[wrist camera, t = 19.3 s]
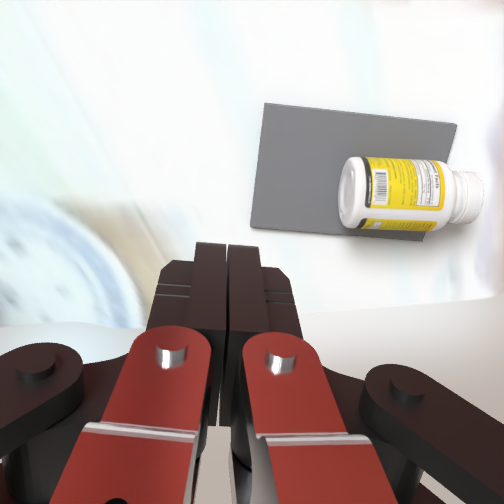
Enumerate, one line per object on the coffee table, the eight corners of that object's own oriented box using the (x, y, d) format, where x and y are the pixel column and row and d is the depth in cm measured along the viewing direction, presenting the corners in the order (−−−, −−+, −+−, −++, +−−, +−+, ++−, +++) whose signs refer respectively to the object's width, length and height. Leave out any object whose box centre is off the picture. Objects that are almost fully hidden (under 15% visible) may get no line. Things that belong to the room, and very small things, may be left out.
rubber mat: (250, 224, 41) (250, 226, 40) (264, 102, 36) (265, 104, 36) (420, 238, 42) (422, 241, 41) (454, 123, 38) (457, 125, 37)
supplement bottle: (333, 203, 40) (446, 210, 41) (345, 241, 36) (471, 247, 36) (345, 143, 37) (469, 151, 37) (360, 176, 32) (499, 185, 33)
